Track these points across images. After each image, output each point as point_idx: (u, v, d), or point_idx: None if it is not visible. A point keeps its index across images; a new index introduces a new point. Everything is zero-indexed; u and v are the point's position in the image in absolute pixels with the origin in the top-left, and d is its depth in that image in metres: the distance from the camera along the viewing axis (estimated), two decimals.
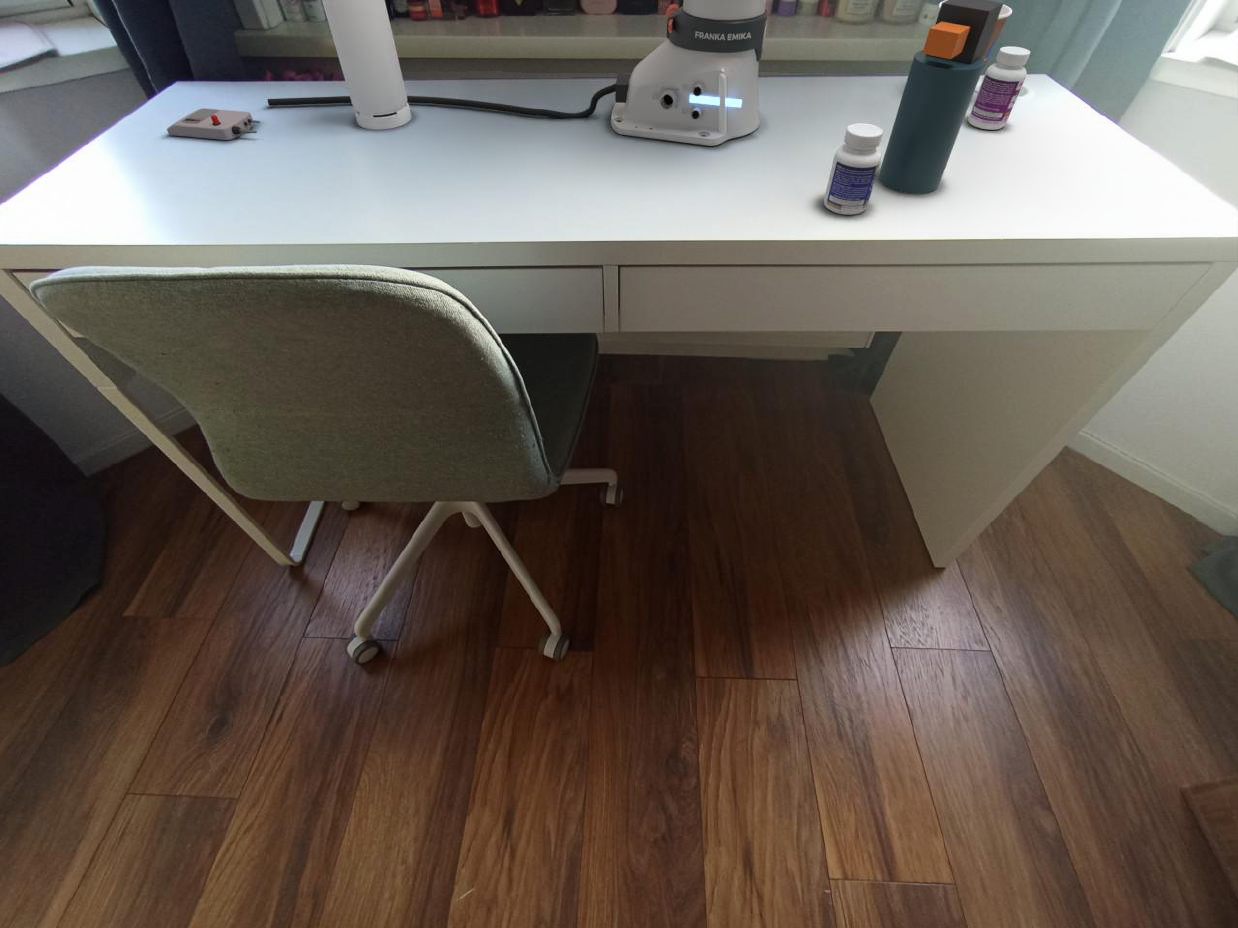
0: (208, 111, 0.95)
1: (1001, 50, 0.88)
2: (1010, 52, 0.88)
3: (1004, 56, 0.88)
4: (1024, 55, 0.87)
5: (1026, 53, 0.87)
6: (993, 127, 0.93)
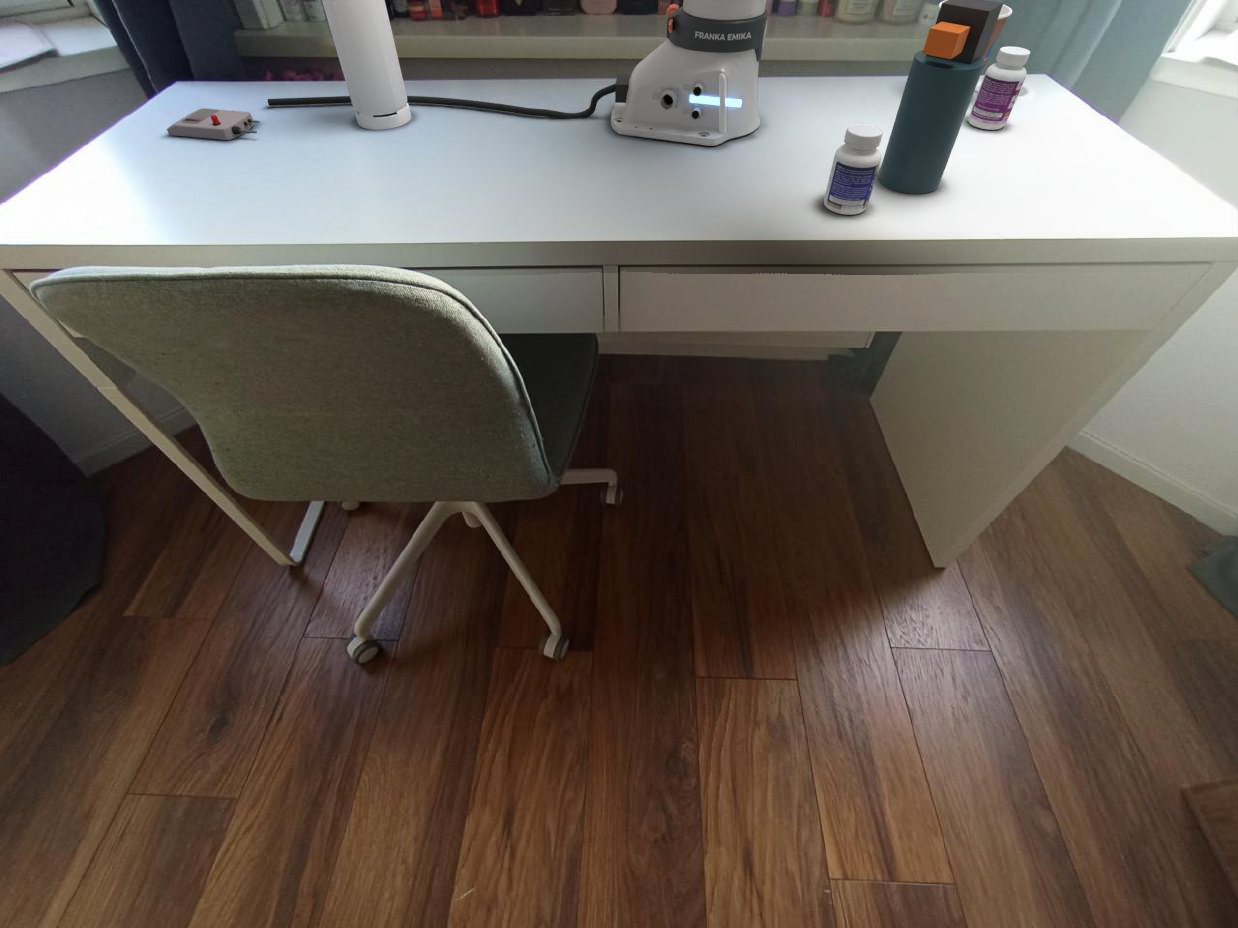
0: (208, 111, 0.95)
1: (1001, 50, 0.88)
2: (1010, 52, 0.88)
3: (1004, 56, 0.88)
4: (1024, 55, 0.87)
5: (1026, 53, 0.87)
6: (993, 127, 0.93)
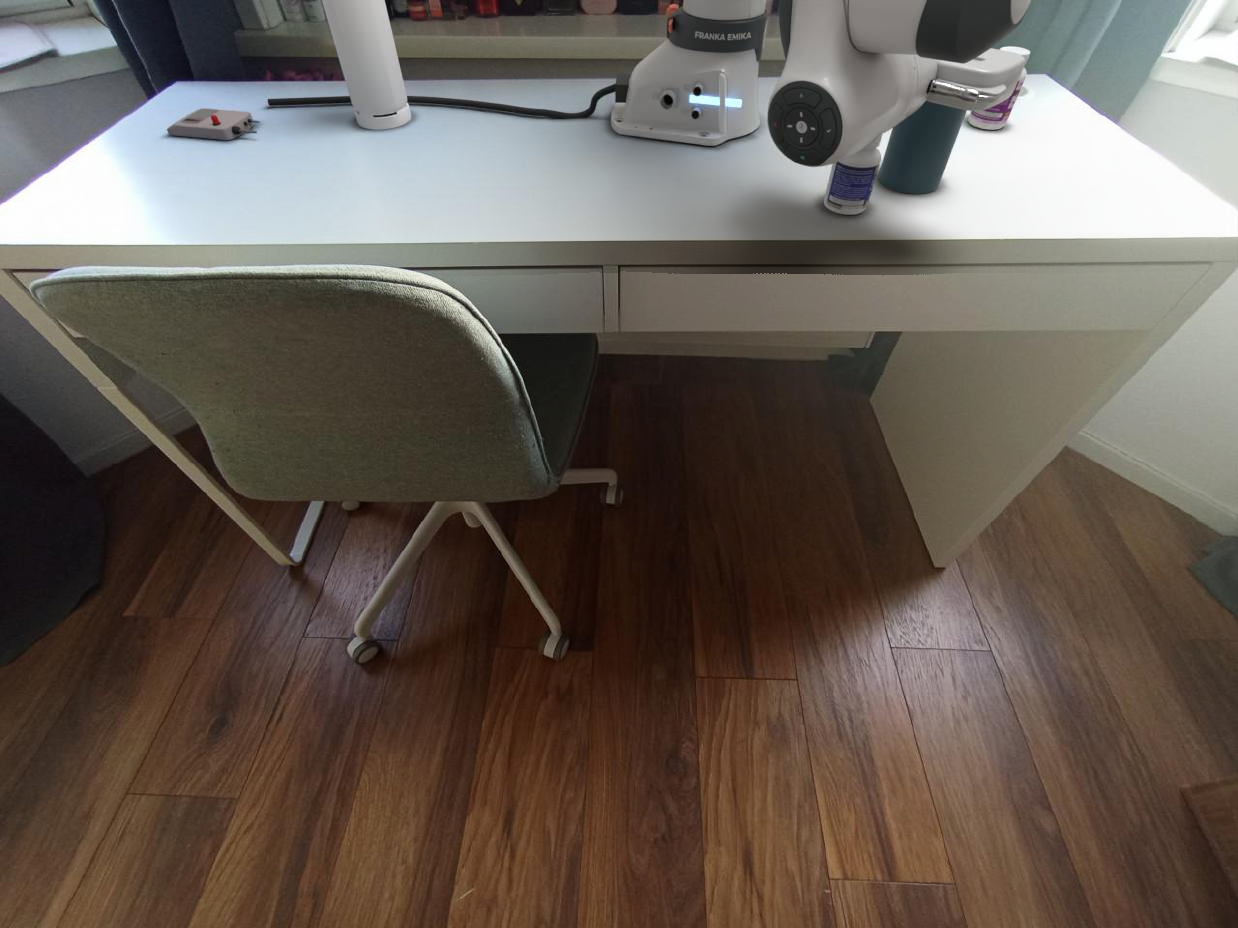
0: (208, 111, 0.95)
1: None
2: None
3: None
4: (1024, 55, 0.87)
5: (1026, 53, 0.87)
6: (993, 127, 0.93)
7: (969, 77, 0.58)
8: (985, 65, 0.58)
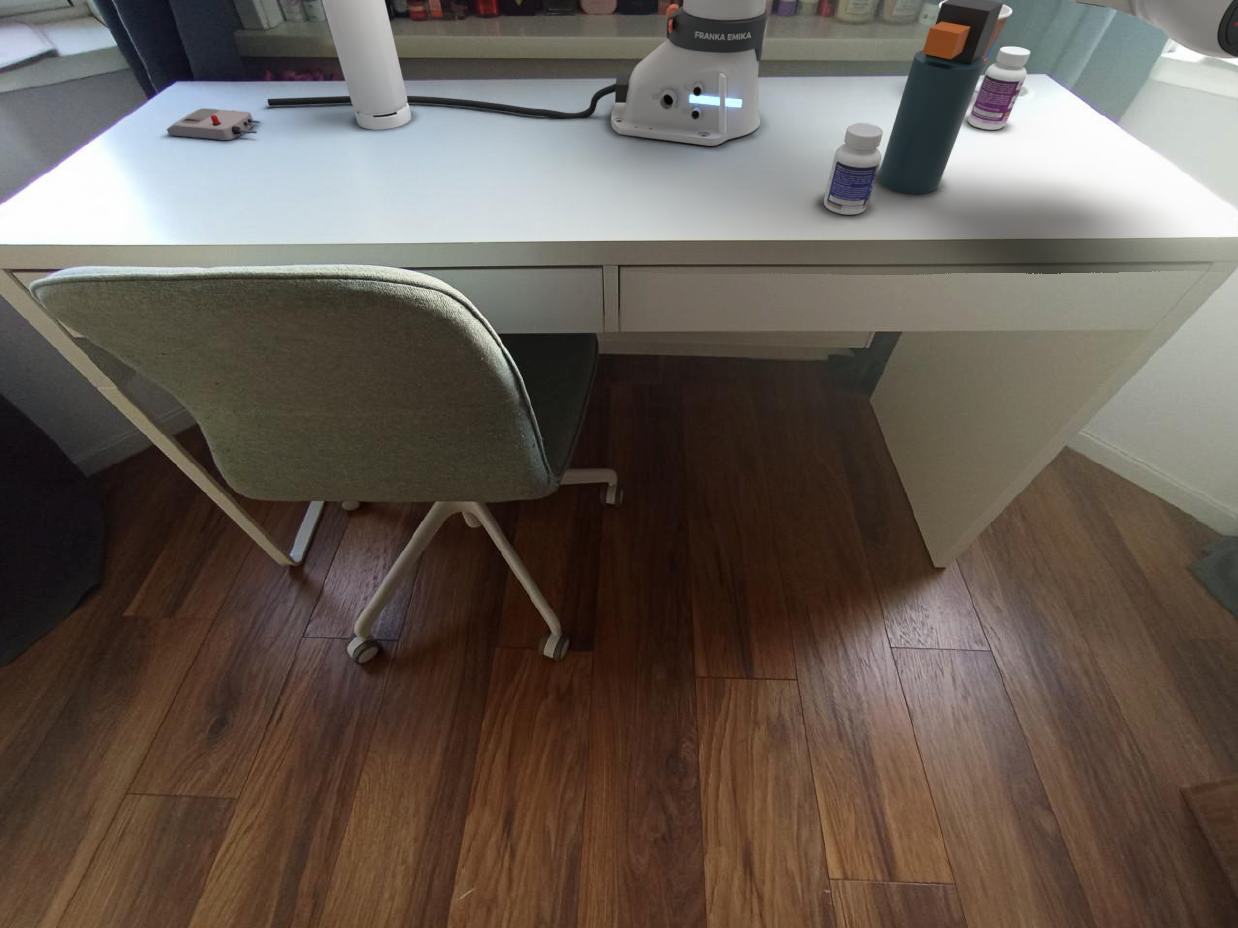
0: (208, 111, 0.95)
1: (1001, 50, 0.88)
2: (1010, 52, 0.88)
3: (1004, 56, 0.88)
4: (1024, 55, 0.87)
5: (1026, 53, 0.87)
6: (993, 127, 0.93)
7: None
8: None
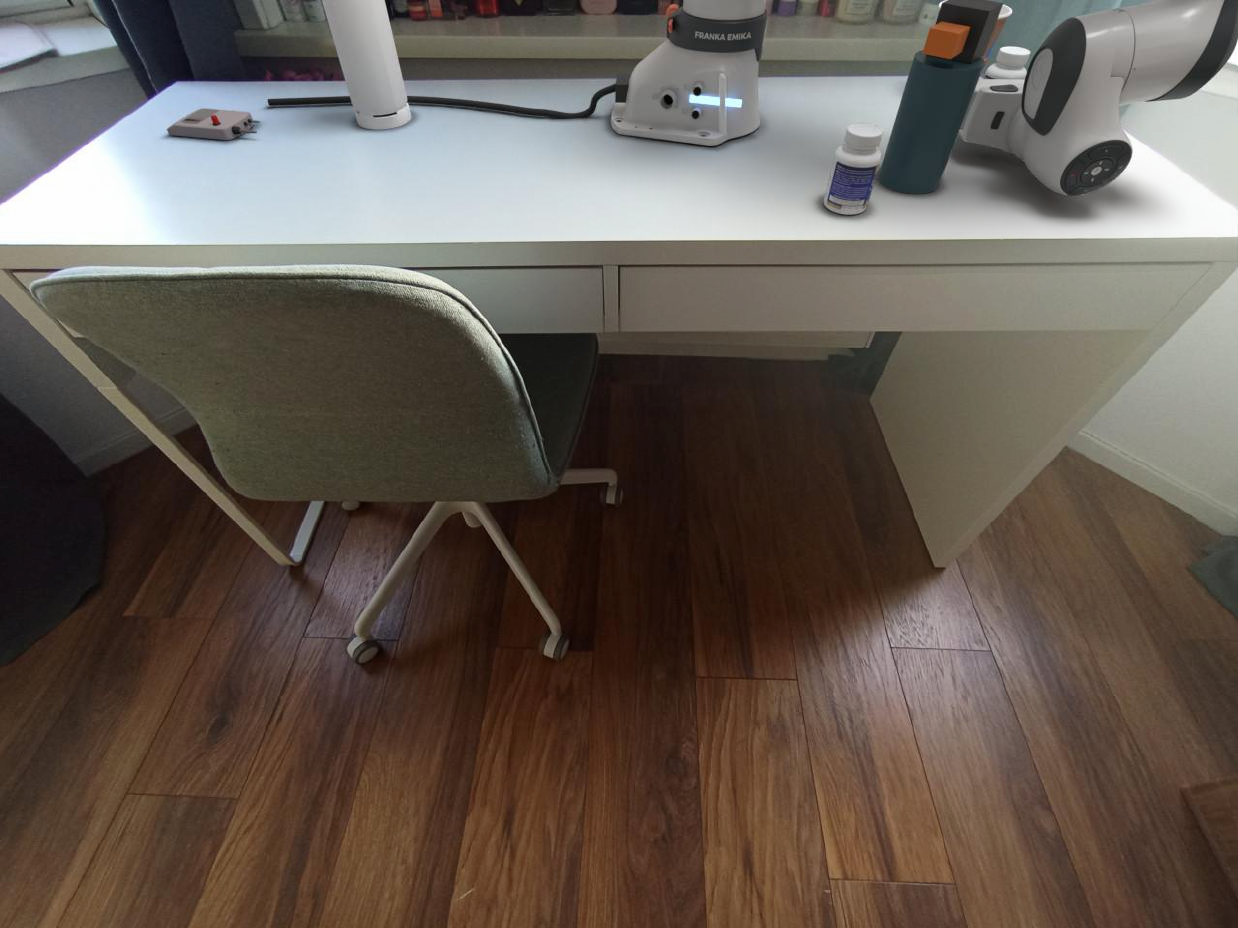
0: (208, 111, 0.95)
1: (1001, 50, 0.88)
2: (1010, 52, 0.88)
3: (1004, 56, 0.88)
4: (1024, 55, 0.87)
5: (1026, 53, 0.87)
6: None
7: None
8: None
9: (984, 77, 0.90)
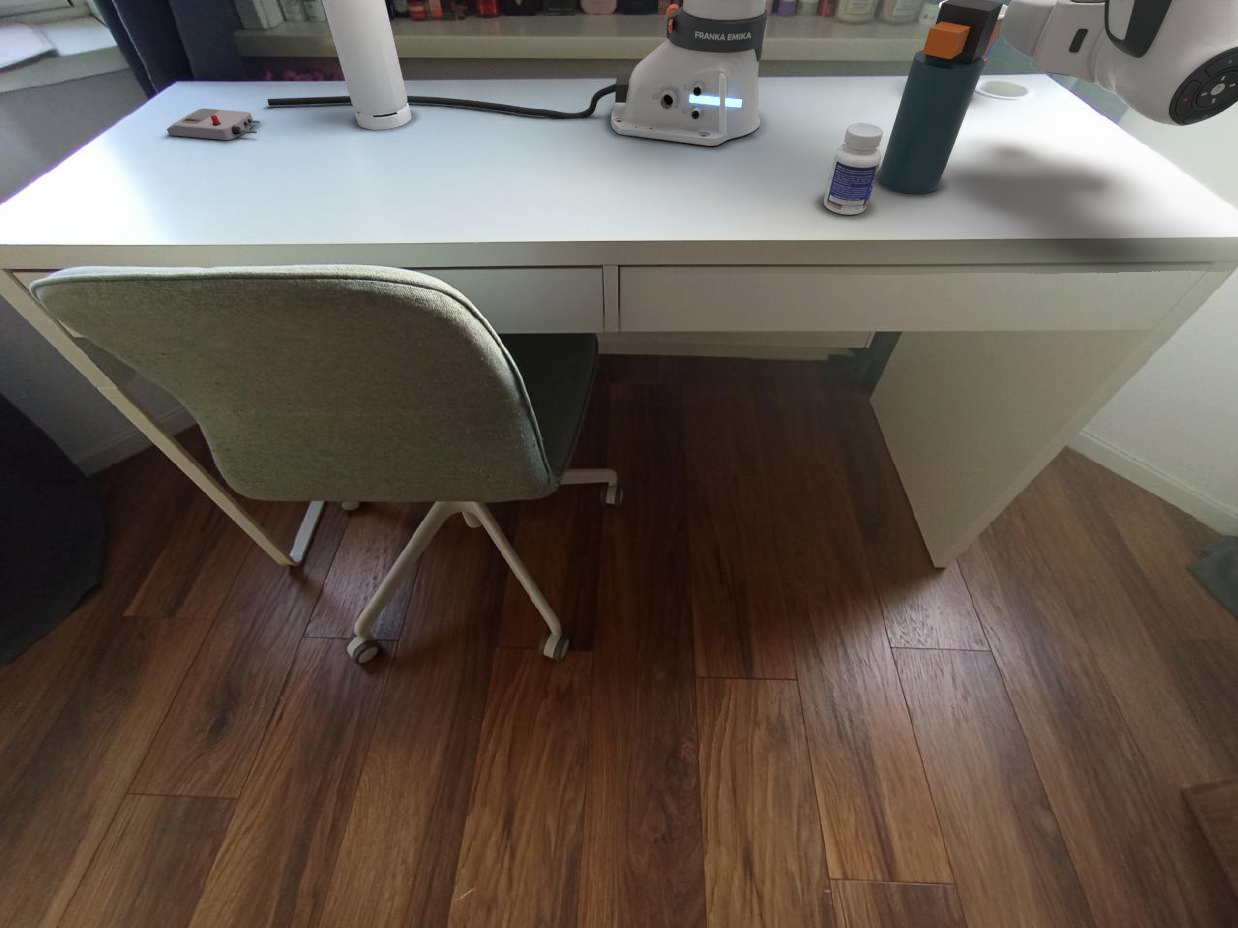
0: (208, 111, 0.95)
1: None
2: None
3: None
4: None
5: None
6: None
7: None
8: None
9: None
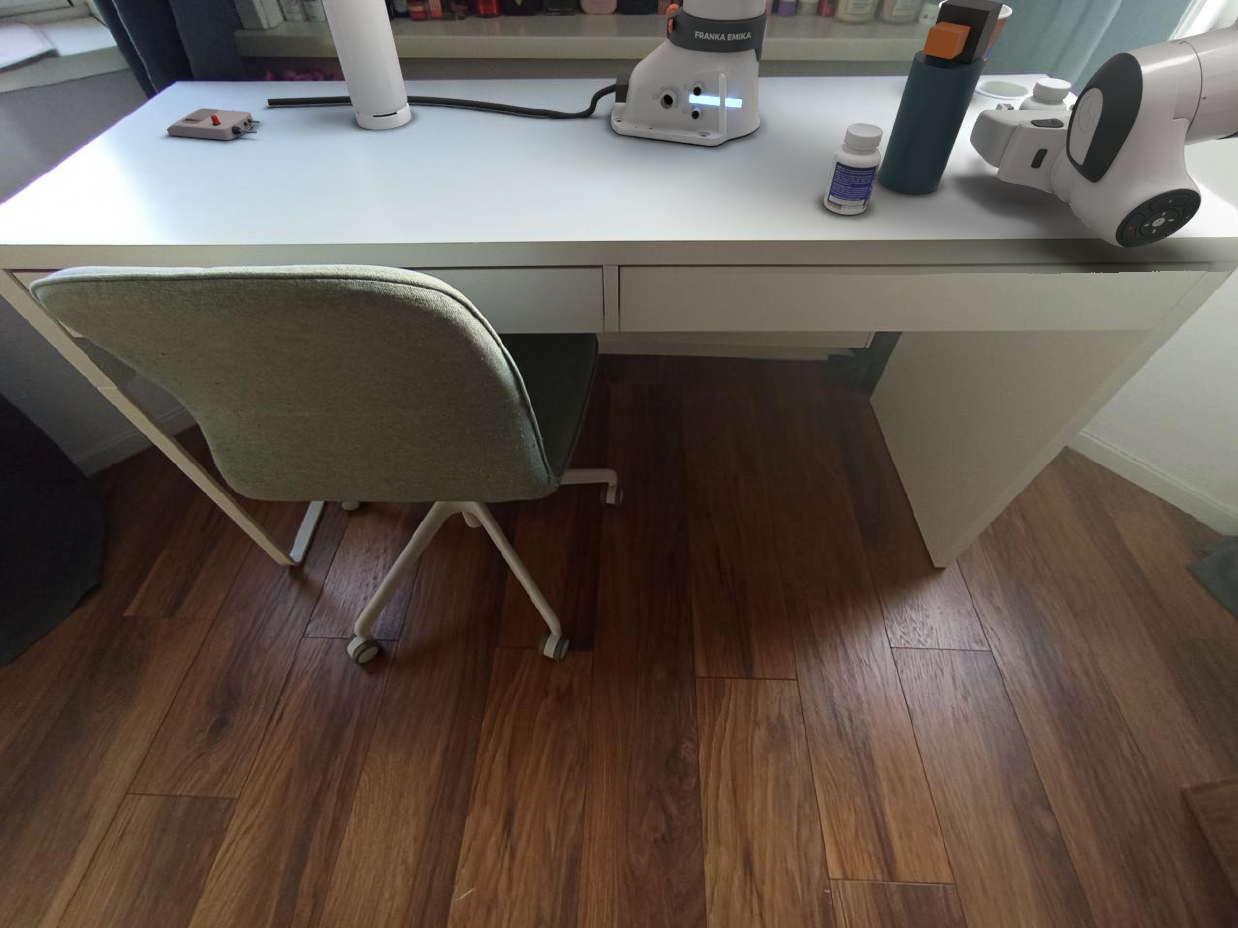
0: (208, 111, 0.95)
1: (1039, 83, 0.80)
2: (1049, 85, 0.79)
3: (1043, 89, 0.79)
4: (1065, 89, 0.78)
5: (1067, 86, 0.79)
6: None
7: None
8: None
9: (1009, 106, 0.81)
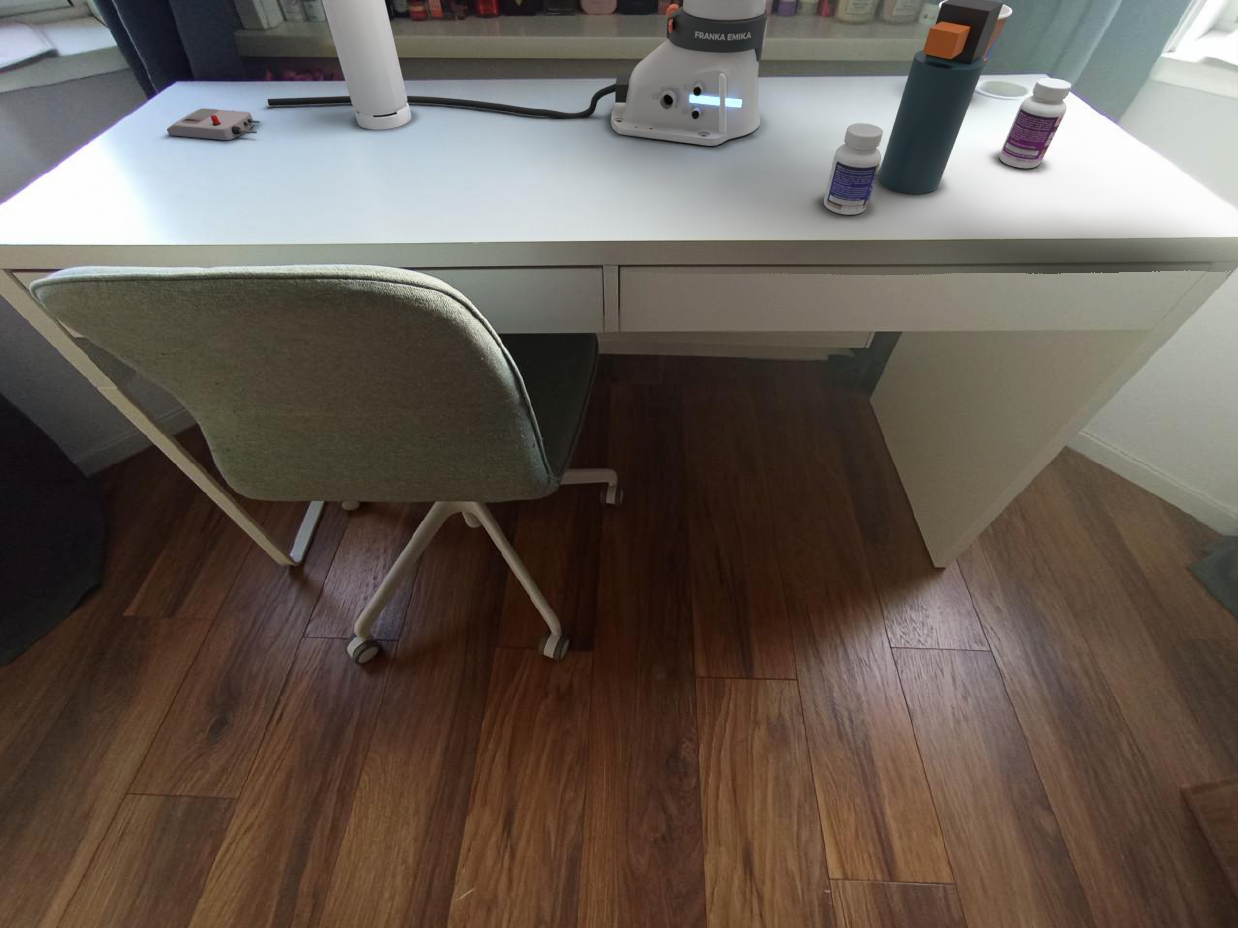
0: (208, 111, 0.95)
1: (1039, 83, 0.80)
2: (1049, 85, 0.79)
3: (1043, 89, 0.79)
4: (1065, 89, 0.78)
5: (1067, 86, 0.79)
6: (1028, 166, 0.85)
7: None
8: None
9: None
